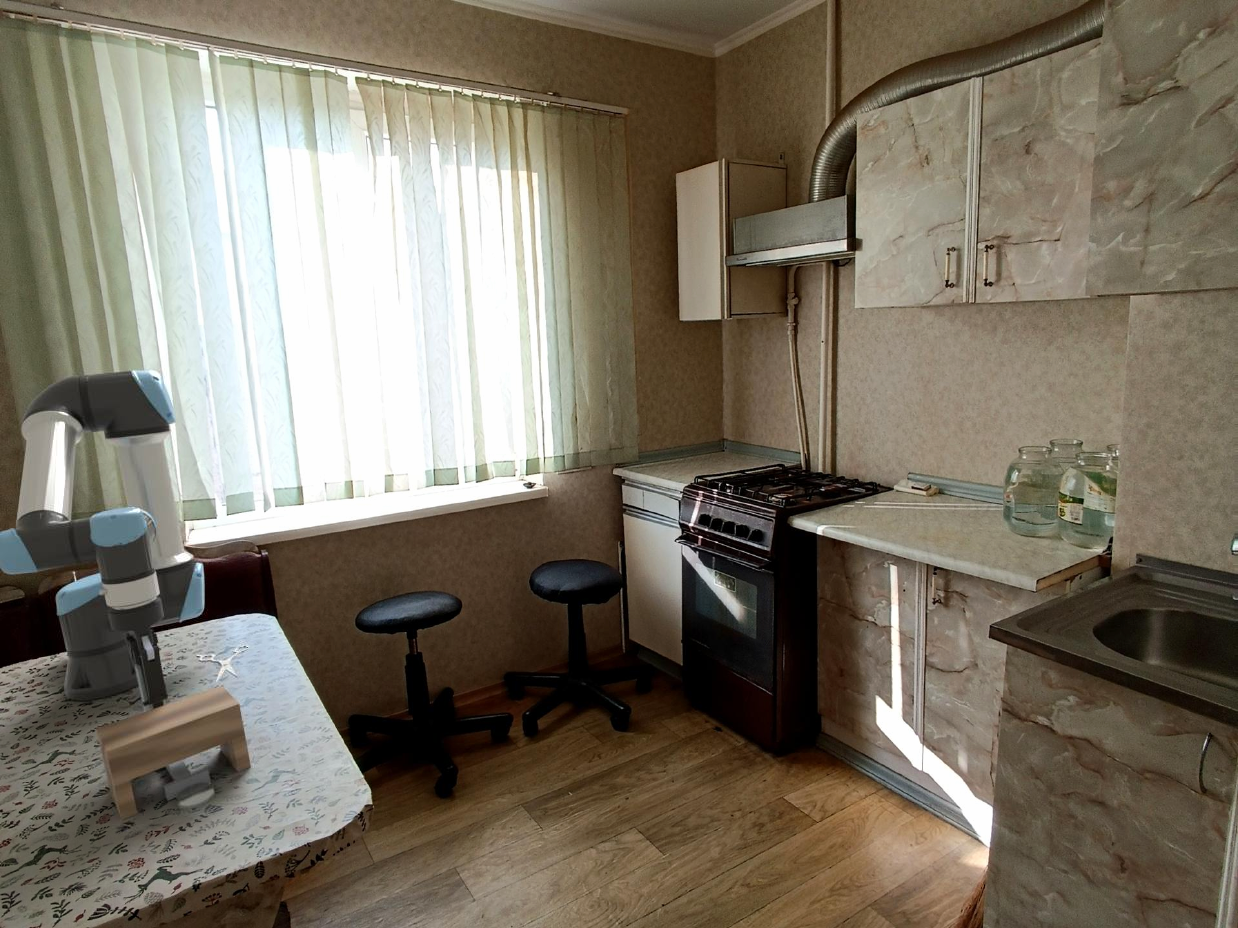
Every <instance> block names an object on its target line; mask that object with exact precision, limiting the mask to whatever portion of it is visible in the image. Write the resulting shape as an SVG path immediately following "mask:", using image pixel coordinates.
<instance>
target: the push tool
mask: <svg viewBox="0 0 1238 928" xmlns="http://www.w3.org/2000/svg"><path fill="white" fill-rule="evenodd" d="M135 670H136V675H137V679H138V684H139V687H138V688H139V693H140V697H141V702H145V701H147V696H146V691H145V687H144V683H143V678H142V674H141V669H140V666H139V665H137V664H135ZM142 707H143V712H146V711H148V708H147V706H143V705H142ZM165 768H166V770H167V772H168V773H169V775H170V776H171V778H172V781H170V782H169V783H165V784H163V790H164V793H165V794H164V795H165V799H166V801H171V800H172V799H173V800H174V799H175V798H176V797H177V795H178V794H179V793H180V792H181V791H183V790H184V789H186V788H188V787H190V786H192V785H195V784H199V783H211V782H212V781H211V777H210V772H209V769H208V768H207V767H205V768H203V769H200V770H198V771H195V772H191V771H190V770H189V768H188V767H187V765H186V764H185V762H184V759H183V760H180V761H178V762H175V763H173V764H170V765H168V766H165ZM211 784H212V783H211Z"/></svg>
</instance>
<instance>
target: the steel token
mask: <svg viewBox="0 0 1238 928" xmlns="http://www.w3.org/2000/svg"><path fill="white" fill-rule="evenodd" d="M215 794H216V793H215V787H214V784H213V783H199V784H195V785H192V786H190V787H188V788H186V789H184V790H183V791H181V792H180V793H179V794H178V795H177V797H176V799H175V800H176V804H177V805H176V806H177V807H178V809H180V810H192V809H196V808H199V807H201V806H203V805H205V804H207V803H209V802H210V801H211V800H212V799H213V798H214V797H215Z"/></svg>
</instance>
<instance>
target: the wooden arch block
mask: <svg viewBox="0 0 1238 928" xmlns="http://www.w3.org/2000/svg"><path fill="white" fill-rule="evenodd" d="M243 721H244V720H243V716H242V711H241V707H240V703H239V702H238V701H237V700H236V699H235V697H233V695H231V694H230V692H229V691H228V690H227V689H226V688H225V687H224V686H223V685H220V686H217V687H214V688H212V689H207V690H206V691H202V692H199V693H196V694H193V695H191V696H188V697H184V698H181V699H179V700H176V701H174V702H169V703H167V705H164V706H161V707H158V708H155V709H152V710H149V711H146V712H144V711H143V712H141V713H138V714H134V715H132V716H128V717H125V718H123V719H120V720H117V721H114V722H111V723H108V724H106V725H102V726H99V727H97V728H95V730H96V734H97V735H96V736H97V739H98V743H99V748H100V752H101V758H102V761H103V766H104V770H105V775H106V780H107V783H108V788H109V793H110V795H111V796H110V797H111V798H112V800H113V802H114V805H115V807H116V810H117V812H118V814H119V817H120V818H121V821H123V820H126V819H128V818H130V817H132V816H135V815H138V814H139V813H138V810H137V809H138V808H137V805H136V804H137V803H136V801H135V796H134V792H133V787H132V786H133V785H132V782H131V780H134V779H136V778H139V777H141V776H144V775H147V774H149V773H152V772H155V771H156V770H159V769H162V768H166V766H168V765H170V764H173V763H175V762H178V761H180V760H183V761H184V760H185V759H188V758H191V757H193V756H195V755H197V754H201V753H203V752H206V751H209V750H212V749H213V748H217V747H218V746H219V749H220V751H221V753H222V754H223V755H224V756H225V757H226V759H227V760H228V762H229V763H230V764H231V765H232V766H233V768H234V769H235V771H236V772H237V773H238V772H241V771H244V770H246V769H248V768H251V767H252V764H251V759H250V755H249V750H248V749H249V748H248V743H247V739H246V733H245V727H244V722H243Z"/></svg>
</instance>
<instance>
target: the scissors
mask: <svg viewBox="0 0 1238 928" xmlns="http://www.w3.org/2000/svg"><path fill="white" fill-rule="evenodd" d="M244 646H246V647H244ZM239 647H243V648H244V649H242V650H243V651H244V650H246V649H248V648H247V647H249V645H241V646H239ZM249 648H250V647H249ZM237 649H238V650H237ZM239 649H240V648H238V647H236V648H235V649H234V650H235V651H234V650H233V651H232V653H234V652H237V653H235V654H234V655H232V656H231V657H229V658H227V659H225V660H222V659H220V660H219V659H215V658H217V655H216V654H205V655H201V654H197V655H196V657H197V656H199V657H198V659H199V662H202V661H205V662H212V663H219V665H221V667H220V670H219V672H218V675H217V676H216V677H217V678H216V681H215V683H217V682H218V681H219V679H221V677H222V675H223V674H224V672H225V671H226V670H227V671H228V672H229V673H231V674H233V675H234V676H235V677H238V675H237V674H236V671H235V670H234V668H233V667H232V666H231V664H229V663H231V662H232V660H233V659H234V658H235V656H236V657H237V656H238V655H239V654H240V653H239V652H242V650H239ZM236 650H237V651H236ZM246 651H247V650H246ZM244 652H245V651H244ZM238 653H239V654H238ZM242 653H243V652H242ZM237 654H238V655H237ZM205 656H208V657H210V658H207V659H206V657H205ZM233 657H234V658H233ZM202 658H203V659H202ZM213 658H214V659H213ZM232 658H233V659H232ZM231 659H232V660H231ZM230 661H231V662H230ZM222 670H223V671H222ZM224 670H225V671H224Z"/></svg>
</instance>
